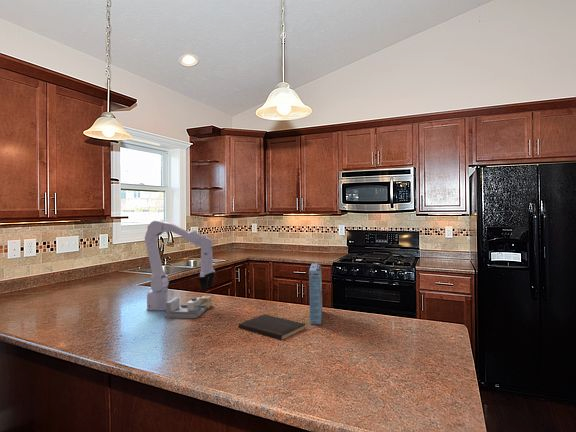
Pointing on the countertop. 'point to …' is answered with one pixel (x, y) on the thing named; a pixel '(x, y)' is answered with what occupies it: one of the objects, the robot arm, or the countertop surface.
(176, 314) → the base
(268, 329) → the hardcover book
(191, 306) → the sliding jaw
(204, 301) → the block
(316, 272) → the gum box
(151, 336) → the countertop surface
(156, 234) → the robot arm
